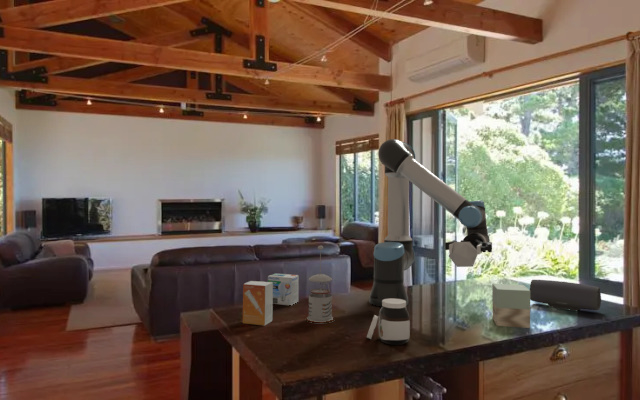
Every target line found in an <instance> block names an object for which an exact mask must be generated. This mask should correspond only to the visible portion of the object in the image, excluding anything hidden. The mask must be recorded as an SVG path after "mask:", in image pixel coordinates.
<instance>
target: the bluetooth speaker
mask: <svg viewBox="0 0 640 400" xmlns="http://www.w3.org/2000/svg"><path fill="white" fill-rule="evenodd" d="M529 290H530V301H533V302H537V303H539V304H540V303H541V304H547V305H548V307H549V308H553V309H559V308H560V309H561V310H566V309H570V310H569V311H573V310H579V311H581V310H588V311H599V310H600V308H601V304H602V303H601V302H602V296H601V295H602V294H601V287H598V286H594V285H590V284H583V283H577V282H567V281H559V280H548V279H547V280H546V279H532V280H531V281H530V286H529ZM560 309H559V310H560Z"/></svg>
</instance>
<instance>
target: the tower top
mask: <svg viewBox="0 0 640 400" xmlns="http://www.w3.org/2000/svg"><path fill="white" fill-rule="evenodd" d="M491 290H492V295H491V296H492V299H491V300H492V304H493V303H494V304H495V305H496V307H497V308H512V309H530V310H531V299H530V288H528V287H526V286H525V285H524V284H508V283H504V284H503V283H492V289H491Z"/></svg>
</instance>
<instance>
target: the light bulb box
mask: <svg viewBox="0 0 640 400" xmlns="http://www.w3.org/2000/svg"><path fill="white" fill-rule="evenodd" d="M299 280H300V279H299V275H298V274H287V273H273V274H270V275H268V276H267V282H273V305H274V304H275V305H282V306H289V305H291V306H294V305H296V304H297V302H298V303H299V287H300V286H299ZM295 303H296V304H295ZM293 304H294V305H293Z"/></svg>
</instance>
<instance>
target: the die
mask: <svg viewBox="0 0 640 400" xmlns="http://www.w3.org/2000/svg"><path fill="white" fill-rule="evenodd" d="M453 244H454V245H453V251H452V253H449V254H448V257H449V259H450V260H451V261H452V263H453V264H454V265H455V267H456V268H458V267H459V268H460V267H461V268H472V267H474V265H475V262H476V259H477V257H478V255H479V254H477V250H476V249H475V247H474V246H473V245H472V244H471V243H470V242H461V241H457V242H454V243H453Z"/></svg>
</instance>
